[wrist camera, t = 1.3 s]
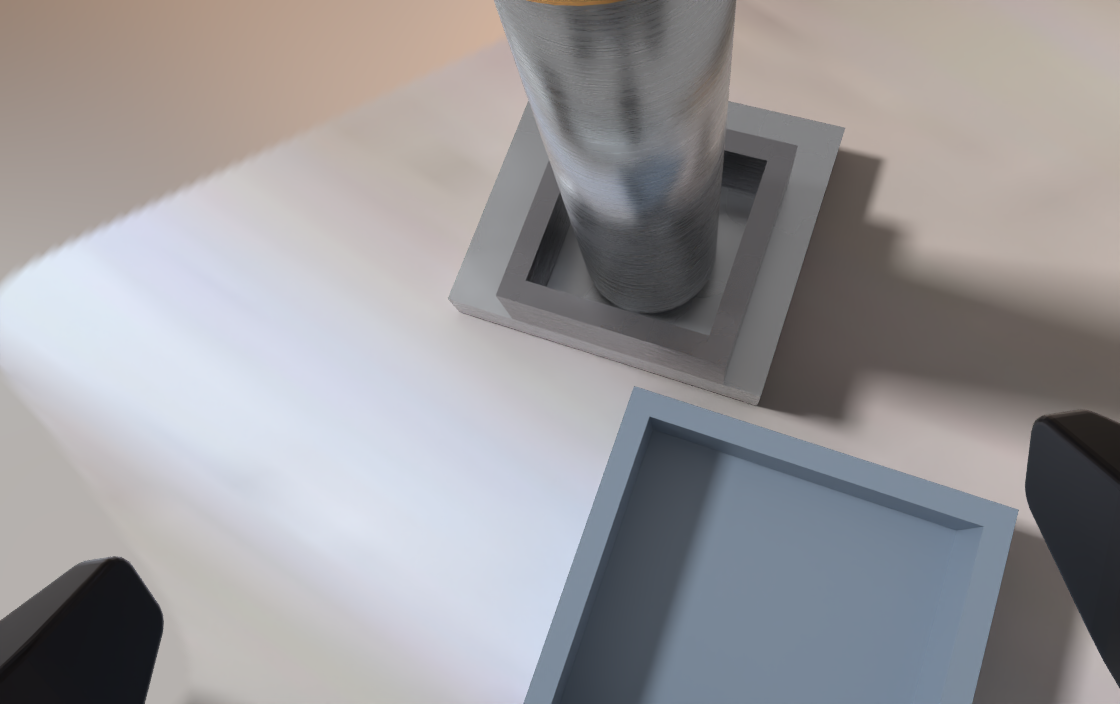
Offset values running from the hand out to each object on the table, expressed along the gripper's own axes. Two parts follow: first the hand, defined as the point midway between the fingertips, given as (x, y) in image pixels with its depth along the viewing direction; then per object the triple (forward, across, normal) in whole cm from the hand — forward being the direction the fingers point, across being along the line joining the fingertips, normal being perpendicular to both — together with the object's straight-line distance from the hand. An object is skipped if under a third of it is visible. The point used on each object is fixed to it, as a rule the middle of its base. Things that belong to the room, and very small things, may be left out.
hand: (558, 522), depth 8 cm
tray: (+8, -2, +12) cm, 14 cm away
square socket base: (+16, -2, +4) cm, 17 cm away
